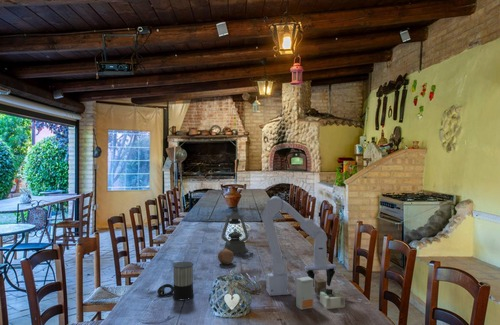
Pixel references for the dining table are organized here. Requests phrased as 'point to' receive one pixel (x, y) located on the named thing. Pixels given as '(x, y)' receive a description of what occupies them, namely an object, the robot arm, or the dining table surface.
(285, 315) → the dining table surface
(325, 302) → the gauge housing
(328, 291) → the plunger
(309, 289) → the skincare box
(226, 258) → the onion
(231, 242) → the lantern
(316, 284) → the walnut block
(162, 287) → the milk frother
